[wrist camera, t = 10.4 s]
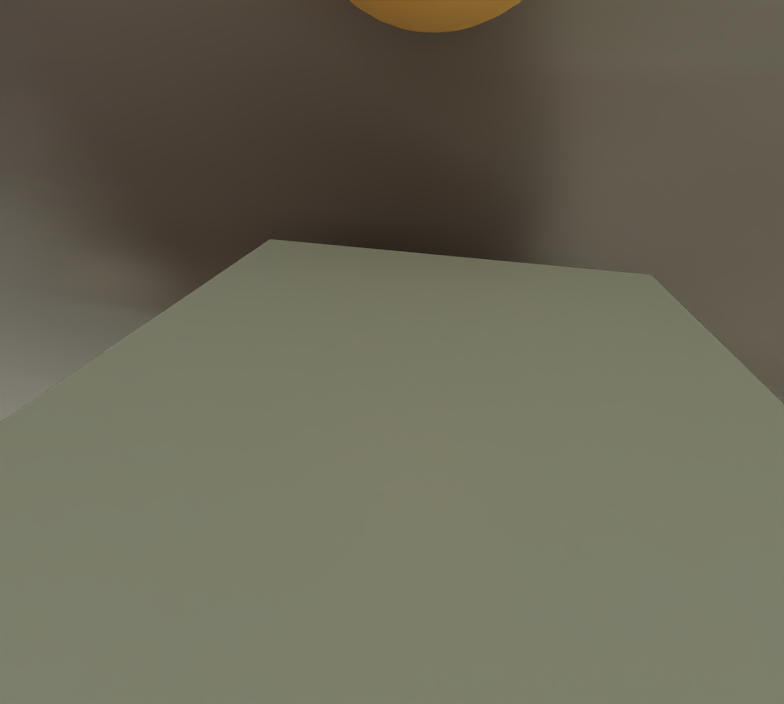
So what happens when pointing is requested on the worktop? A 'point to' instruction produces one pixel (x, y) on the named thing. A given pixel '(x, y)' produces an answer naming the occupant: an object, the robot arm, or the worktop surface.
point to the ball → (434, 13)
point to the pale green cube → (398, 496)
